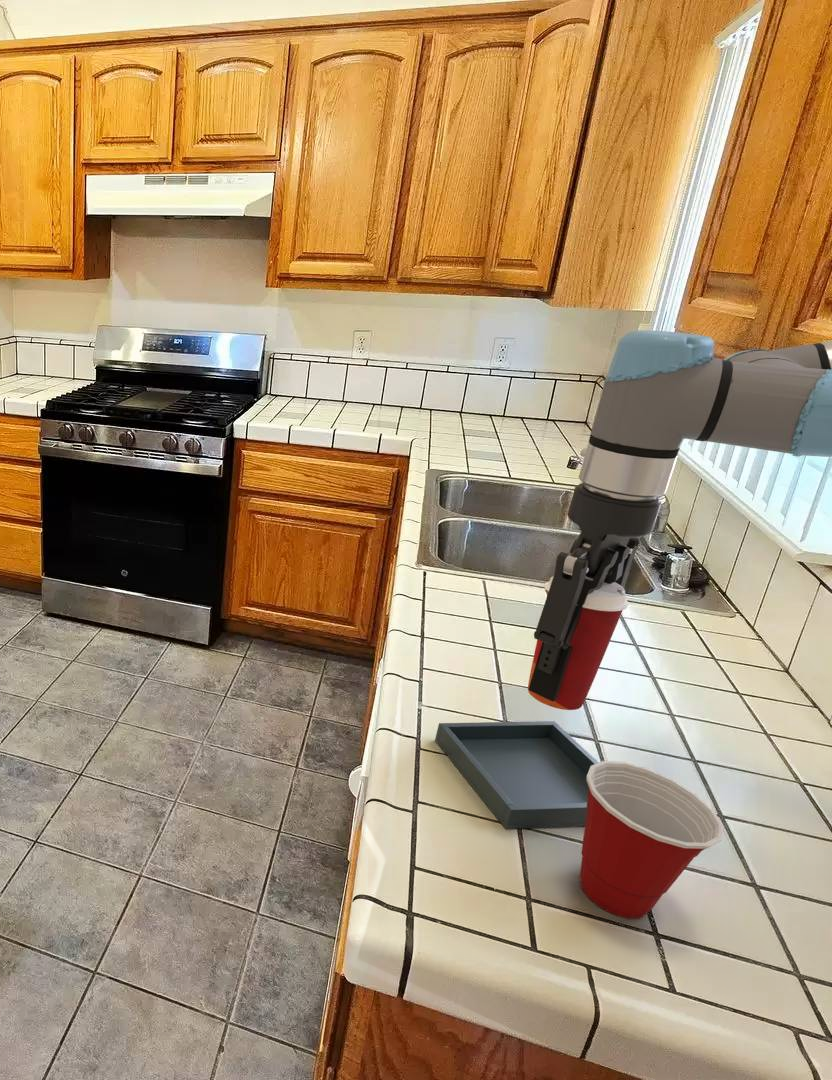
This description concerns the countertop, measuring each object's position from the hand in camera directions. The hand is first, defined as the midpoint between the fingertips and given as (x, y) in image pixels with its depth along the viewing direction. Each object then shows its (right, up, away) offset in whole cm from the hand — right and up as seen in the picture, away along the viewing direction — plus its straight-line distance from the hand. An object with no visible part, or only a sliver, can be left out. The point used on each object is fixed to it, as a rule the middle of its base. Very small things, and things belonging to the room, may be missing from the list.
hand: (557, 685), depth 84 cm
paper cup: (0, -1, +1) cm, 2 cm away
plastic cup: (-1, -18, -11) cm, 22 cm away
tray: (-1, -12, +5) cm, 13 cm away
